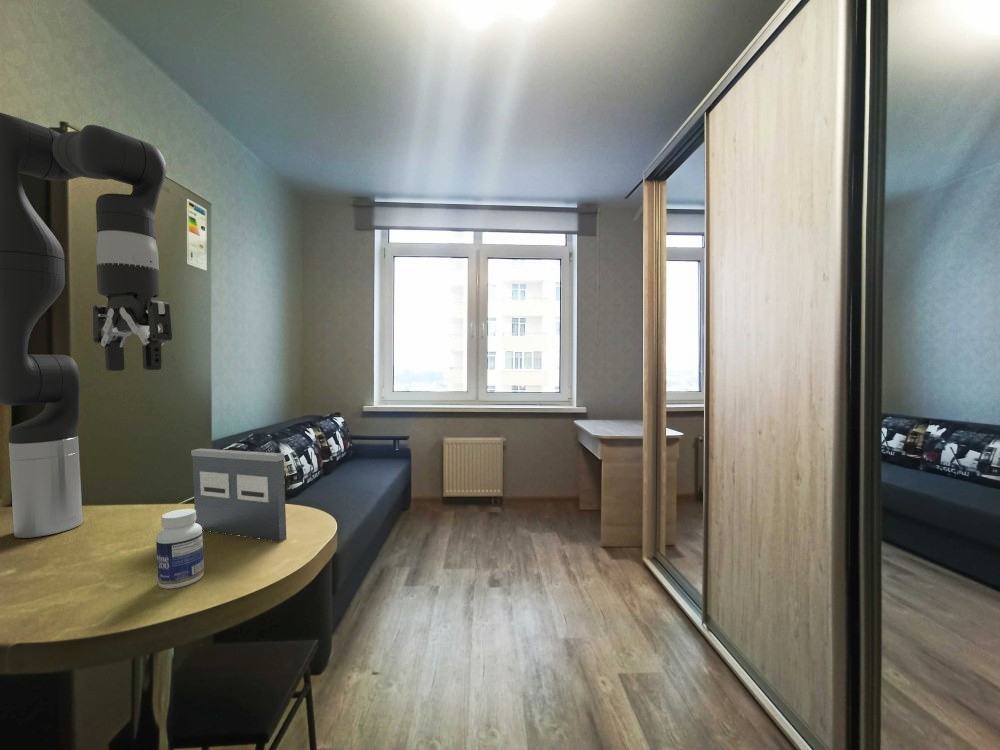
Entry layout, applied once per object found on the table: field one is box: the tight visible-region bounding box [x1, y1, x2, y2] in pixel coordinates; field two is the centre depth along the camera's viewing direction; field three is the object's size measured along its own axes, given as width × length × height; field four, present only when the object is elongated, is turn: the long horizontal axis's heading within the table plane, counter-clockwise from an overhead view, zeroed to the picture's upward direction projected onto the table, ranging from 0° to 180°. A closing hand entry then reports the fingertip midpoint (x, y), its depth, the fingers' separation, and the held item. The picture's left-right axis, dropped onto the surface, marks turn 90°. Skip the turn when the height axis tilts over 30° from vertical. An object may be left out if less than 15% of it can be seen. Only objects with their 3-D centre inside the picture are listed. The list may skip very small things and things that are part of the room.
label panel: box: [190, 448, 287, 543], centre depth 81 cm, size 20×2×15 cm, turn 71°
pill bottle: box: [155, 508, 205, 590], centre depth 64 cm, size 5×5×10 cm
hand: (133, 370), depth 70 cm, fingers open, 8 cm apart
